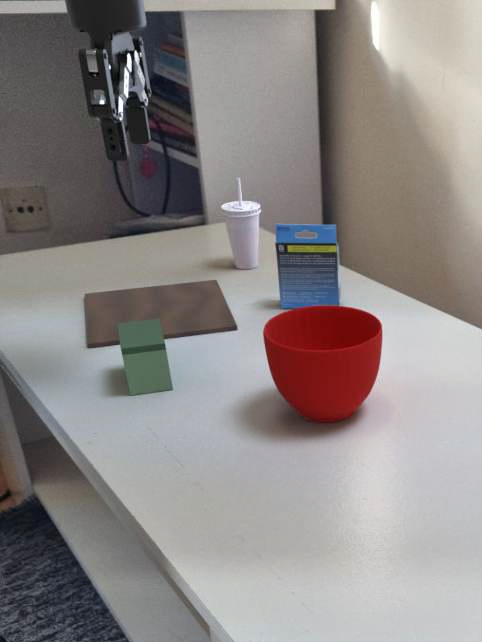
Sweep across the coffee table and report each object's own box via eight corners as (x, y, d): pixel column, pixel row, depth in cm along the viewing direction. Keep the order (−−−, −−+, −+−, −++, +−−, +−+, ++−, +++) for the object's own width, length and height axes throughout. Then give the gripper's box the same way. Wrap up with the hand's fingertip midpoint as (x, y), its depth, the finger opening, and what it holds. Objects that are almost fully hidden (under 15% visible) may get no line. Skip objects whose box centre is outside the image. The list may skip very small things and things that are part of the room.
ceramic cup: (403, 377, 100) (404, 299, 94) (364, 443, 86) (362, 357, 81) (305, 365, 102) (300, 289, 97) (252, 428, 89) (243, 343, 83)
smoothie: (229, 273, 131) (219, 183, 123) (225, 261, 136) (215, 174, 128) (268, 269, 133) (260, 180, 125) (262, 258, 138) (255, 171, 130)
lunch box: (130, 395, 96) (120, 348, 92) (126, 368, 102) (117, 323, 99) (173, 389, 97) (165, 343, 94) (166, 363, 103) (159, 318, 100)
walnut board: (88, 348, 107) (87, 343, 107) (85, 297, 123) (84, 293, 122) (237, 329, 112) (237, 325, 112) (216, 283, 128) (216, 279, 127)
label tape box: (341, 300, 121) (338, 216, 114) (339, 310, 118) (336, 224, 111) (283, 299, 121) (277, 216, 114) (280, 309, 118) (273, 224, 111)
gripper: (86, -28, 85) (116, 138, 94) (34, -24, 73) (74, 166, 83) (156, -28, 85) (179, 139, 94) (115, -24, 73) (146, 166, 82)
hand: (130, 151), depth 88 cm, fingers open, 8 cm apart
